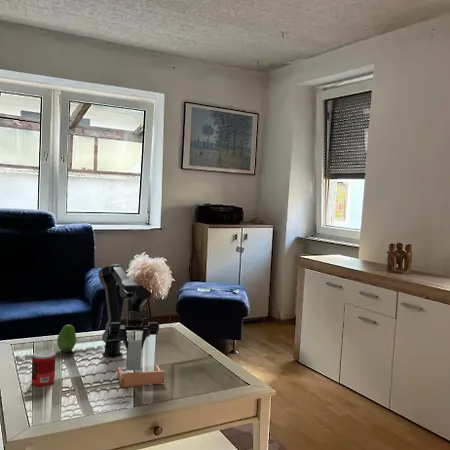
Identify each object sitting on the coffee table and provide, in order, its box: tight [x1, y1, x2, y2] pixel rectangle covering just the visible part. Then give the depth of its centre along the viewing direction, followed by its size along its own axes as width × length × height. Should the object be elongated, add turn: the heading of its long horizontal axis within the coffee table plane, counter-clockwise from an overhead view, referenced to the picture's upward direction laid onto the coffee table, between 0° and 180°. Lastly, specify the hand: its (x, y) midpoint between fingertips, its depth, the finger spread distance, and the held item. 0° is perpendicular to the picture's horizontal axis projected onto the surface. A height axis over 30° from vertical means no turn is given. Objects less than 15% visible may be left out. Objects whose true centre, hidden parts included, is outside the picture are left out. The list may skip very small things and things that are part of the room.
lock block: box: [125, 339, 143, 371], centre depth 178 cm, size 5×5×10 cm
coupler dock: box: [116, 364, 166, 388], centre depth 181 cm, size 12×16×5 cm
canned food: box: [31, 349, 57, 387], centre depth 172 cm, size 8×8×11 cm
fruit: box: [57, 324, 77, 353], centre depth 206 cm, size 8×8×12 cm
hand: (134, 349), depth 177 cm, fingers closed on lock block, 5 cm apart
